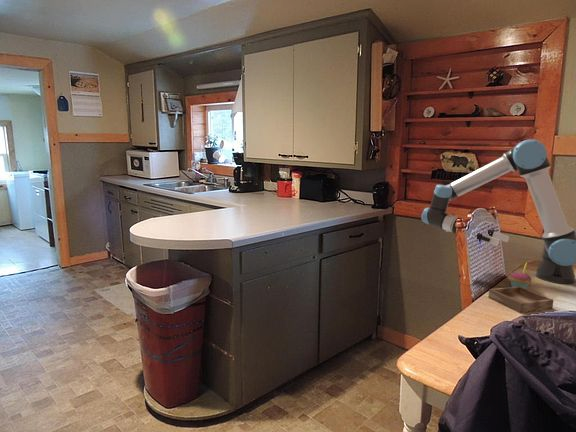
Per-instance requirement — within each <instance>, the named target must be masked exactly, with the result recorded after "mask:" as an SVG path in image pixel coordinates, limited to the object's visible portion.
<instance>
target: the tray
mask: <svg viewBox="0 0 576 432" xmlns="http://www.w3.org/2000/svg"><path fill="white" fill-rule="evenodd" d="M488 299H489V300H492V301H494V302H497V303H498V304H500V305H502V306H505V307H506V308H509V309H511V310H513V311H515V312H517V313H519V314H523V313H522V312H525V313H529V312H528V311H533V312H537V311H536V310H541V311H544V310H543V309H548V310H553V307H554V299H552V298H550V297H547V296H546V295H542V294H540V293H537V292H535V291H533V290H530V289H528V288H527V287H526V288H523V287H521V286H516V287H512V286H509V287H508V286H507V287H500V288H499V287H498V288H489V290H488Z"/></svg>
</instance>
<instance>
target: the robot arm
mask: <svg viewBox="0 0 576 432" xmlns="http://www.w3.org/2000/svg"><path fill="white" fill-rule="evenodd" d="M551 168H552V166H551V163H550V160H549V158H548V153H547V148H546V146H545V144H544V143H542V142H541V141H539V140H537V139H533V138H532V139H525V140H523V141H520V142H518V143H517V144H516V145H515V146H514V147H512V148H511V149H509V150H508V151H506V152H503V153H502V156H501V157H498V158H497V159H495V160H493V161H491V162H489V163H487V164H485V165H483V166H482V167H479V168H478V169H476V170H474V171H472V172H470V173H468V174H466V175H464V176H462V177H461V178H460V177H459V179H456V180H454V181H453V182H450V183H449V184H446V185H444V184H436V185H435V187H434V190H433V196H432V198H431V202H430V205H429V207H425V208H424V210H422V213H421V217H420V218H421V221H422V222H423V223H424V224H427V225H429V226H432V227H435V228H438V229H441V230H445V232H446V233H448V232H450V233H453V234H455V235H457V234H456V227H455V223H456V220H457V219H463V218H461V217H458V216H457V215H452V214H450V213H447V209H448V206H449V204H450V202H451V201H453V200H455V199H457V198H458V197H461V196H462V195H465V194H467V193H469V192H471V191H473V190H475V189H477V188H480V187H481V186H484V185H485V184H487V183H490V182H492V181H493V180H495V179H498V178H499V177H501V176H503V175H505V174H507V173H508V174H509V173H510V172H513V173H514V172H517V171H518V175H519V177H522V179H523V178H524V179H525V182H526V184H527V187H528V190H529V193H530V195H531V199H532V201H533V203H534V206H535V210H536V212H537V214H538V218H539V219H540V222H541V223H540V224H541V226H542V228H543V231H544V232H543V233H542V234H541V235H542V236H541V238H542V240H543V248H542V255H541V260H540V262H539V264H538V266H537V268H536V270H535V274H534V275H535V276H536V277H537V278H539V279H540V280H542V281H543V280H544V281H546V282H552V283H558V284H573V283H575V282H576V274H575V270H574V265H575V264H576V230H575V229H574V228H573V227H571V226H570V225H568V223H567V219H566V216H565V214H564V211H563V209H562V206H561V203H560V200H559V197H558V194H557V192H556V190H555V186H554V184H553V180H552V178H551V175H550V172H549V170H550V169H551ZM490 233H491V234H490ZM488 234H489V236H487V235H482V234H480V233H478V234H477V239H479V243H481V242H484V243H487V244H489V245H493V246H496V247H498V246H499V244H500V242H501V241H502V242H504V243H508V242H509V240H510V236H509V235H506V234H503V233H500V232H497V231H496V229H494V228H493V229H490V230H488Z"/></svg>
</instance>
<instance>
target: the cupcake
mask: <svg viewBox="0 0 576 432" xmlns="http://www.w3.org/2000/svg"><path fill="white" fill-rule="evenodd" d="M524 263H525V262H524ZM527 266H528V260H527V261H526V263H525V264H524V267H523V269H522V270H523V271H512V272H510V273H509V274H508V276H507V279H508V280H509V281H510V284H511V287H516V286H521V287H523V288H526V289H527V286H528V285H529V284H531V283H532V277H531V275H529V274H528V273H527V272H526V269H527Z"/></svg>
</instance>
